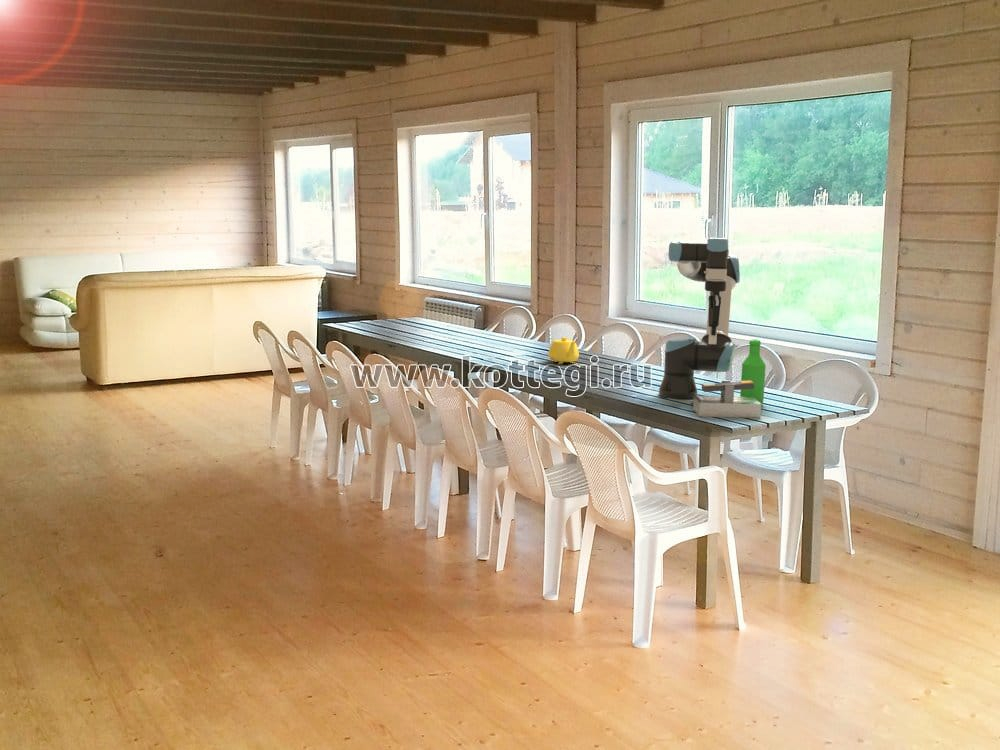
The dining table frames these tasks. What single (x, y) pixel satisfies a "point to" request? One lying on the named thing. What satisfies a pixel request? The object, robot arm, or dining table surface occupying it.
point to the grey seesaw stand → (726, 405)
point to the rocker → (721, 386)
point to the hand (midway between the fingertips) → (712, 343)
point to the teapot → (563, 350)
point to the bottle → (754, 372)
